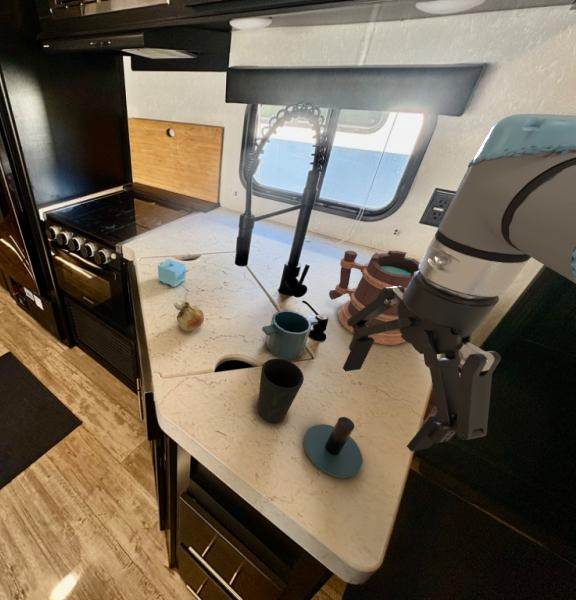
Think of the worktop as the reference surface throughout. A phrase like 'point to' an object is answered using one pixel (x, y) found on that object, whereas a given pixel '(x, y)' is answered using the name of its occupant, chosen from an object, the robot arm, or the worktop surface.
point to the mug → (374, 288)
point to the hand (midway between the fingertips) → (380, 403)
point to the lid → (334, 448)
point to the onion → (189, 316)
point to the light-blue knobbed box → (172, 272)
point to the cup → (278, 389)
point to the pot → (288, 334)
